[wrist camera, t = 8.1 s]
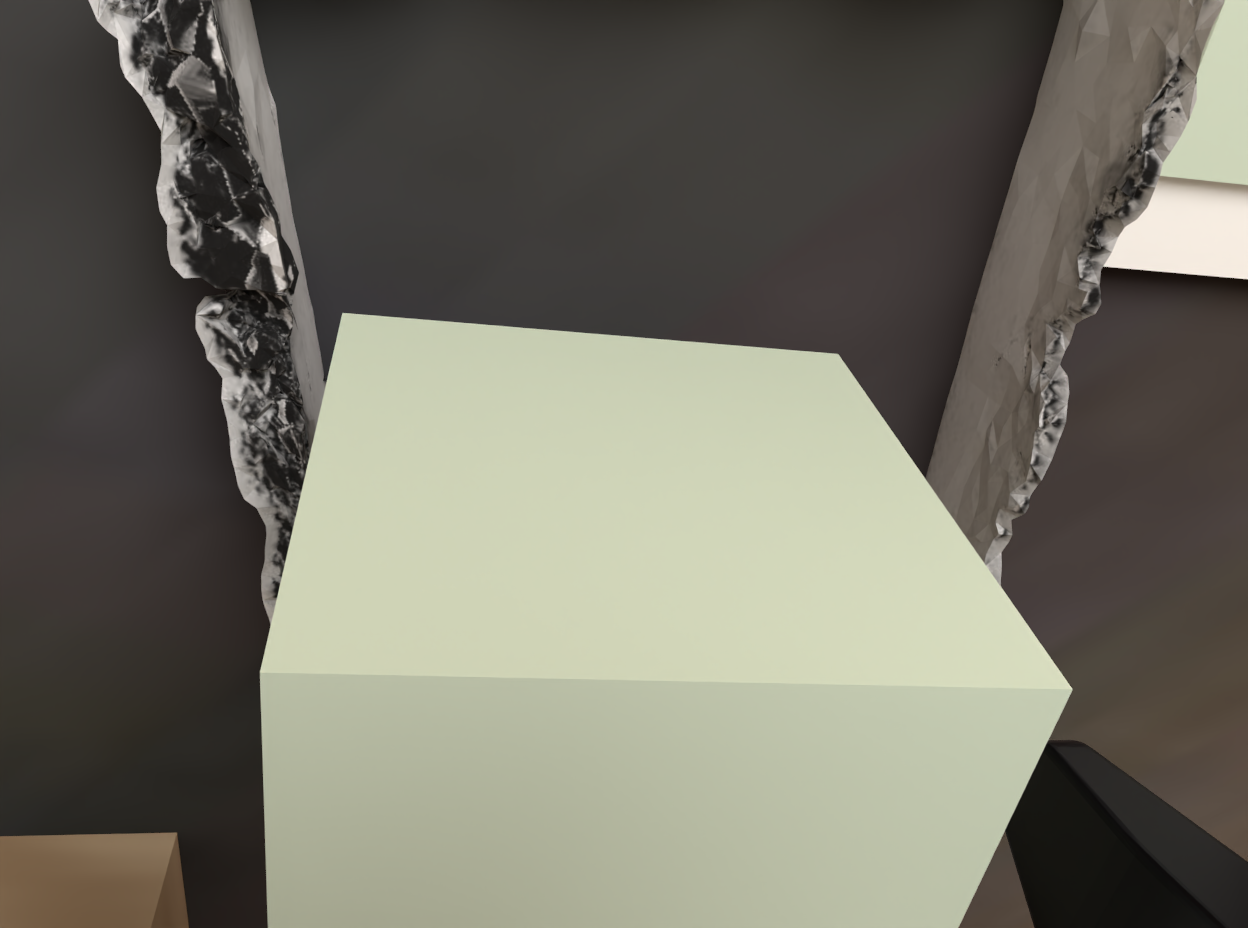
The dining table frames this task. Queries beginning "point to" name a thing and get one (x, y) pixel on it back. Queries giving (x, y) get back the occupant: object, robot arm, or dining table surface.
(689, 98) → the dining table surface
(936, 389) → the dining table surface
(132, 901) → the honey block
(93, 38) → the dining table surface
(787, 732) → the sage block
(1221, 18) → the card
